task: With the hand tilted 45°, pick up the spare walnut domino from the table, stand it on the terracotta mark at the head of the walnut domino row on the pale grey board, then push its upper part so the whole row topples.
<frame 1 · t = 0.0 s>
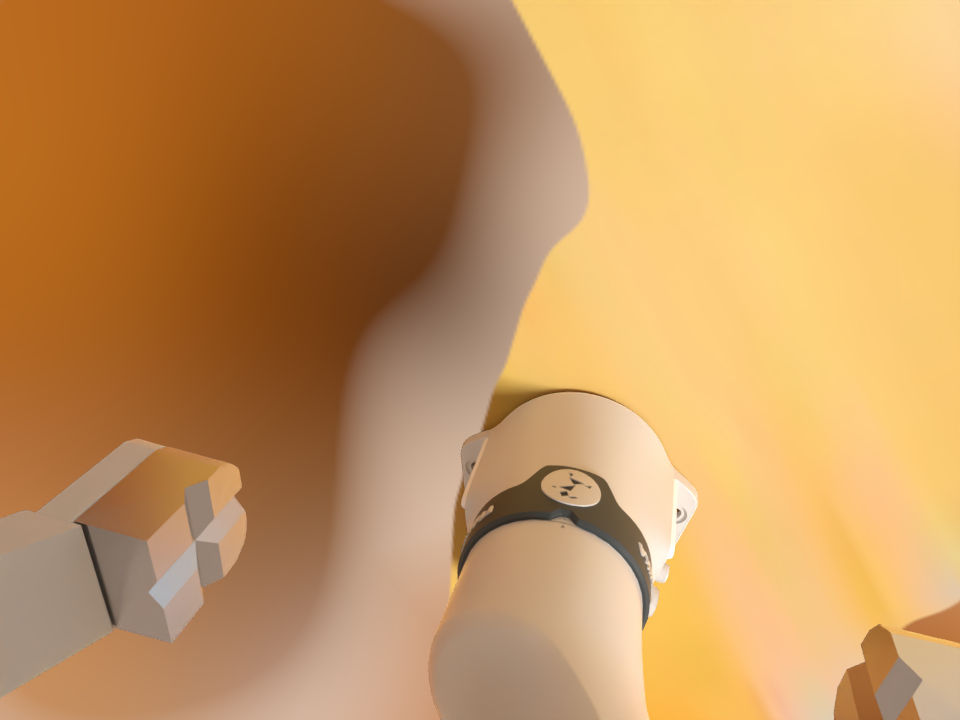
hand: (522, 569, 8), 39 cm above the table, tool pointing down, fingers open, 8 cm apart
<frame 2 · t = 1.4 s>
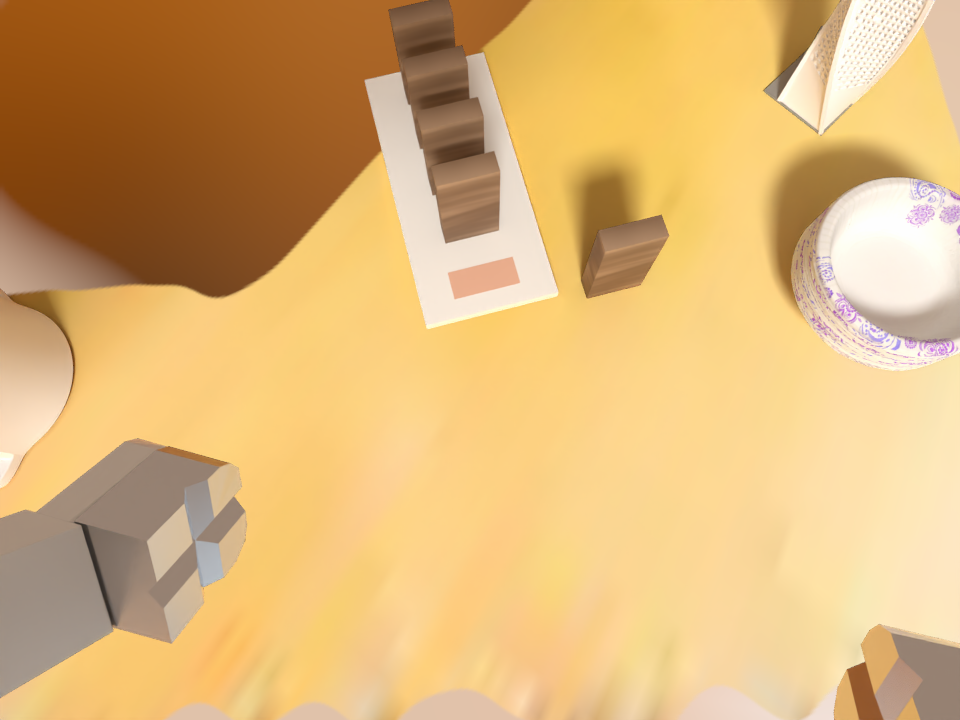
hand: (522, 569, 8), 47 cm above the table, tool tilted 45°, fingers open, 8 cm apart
skyscraper: (814, 102, 64), on the table
domino 5: (431, 91, 64), point 1 cm above the table, touching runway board
domino 2: (469, 228, 60), point 1 cm above the table, touching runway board
paper bowls: (859, 297, 59), on the table
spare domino: (610, 282, 59), on the table
domino 4: (443, 135, 62), point 1 cm above the table, touching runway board
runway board: (457, 186, 62), on the table
domino 3: (456, 180, 61), point 1 cm above the table, touching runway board
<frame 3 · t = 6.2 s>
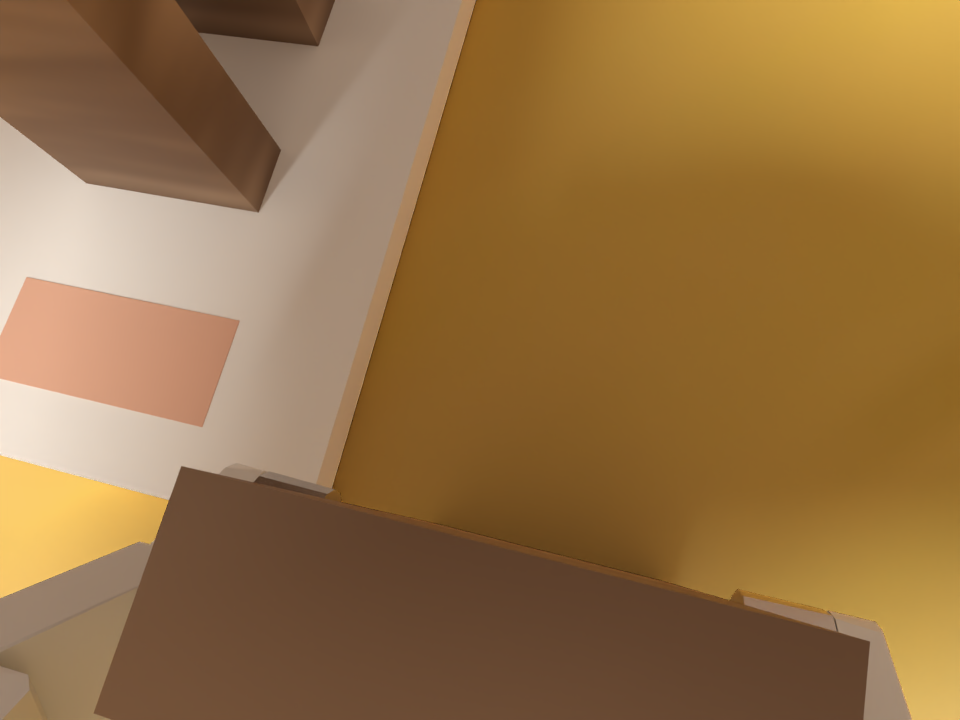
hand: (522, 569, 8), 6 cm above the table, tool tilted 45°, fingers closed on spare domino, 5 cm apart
domino 2: (182, 166, 17), point 1 cm above the table, touching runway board
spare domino: (534, 593, 14), on the table, touching gripper
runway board: (261, 37, 19), on the table
domino 3: (245, 10, 18), point 1 cm above the table, touching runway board
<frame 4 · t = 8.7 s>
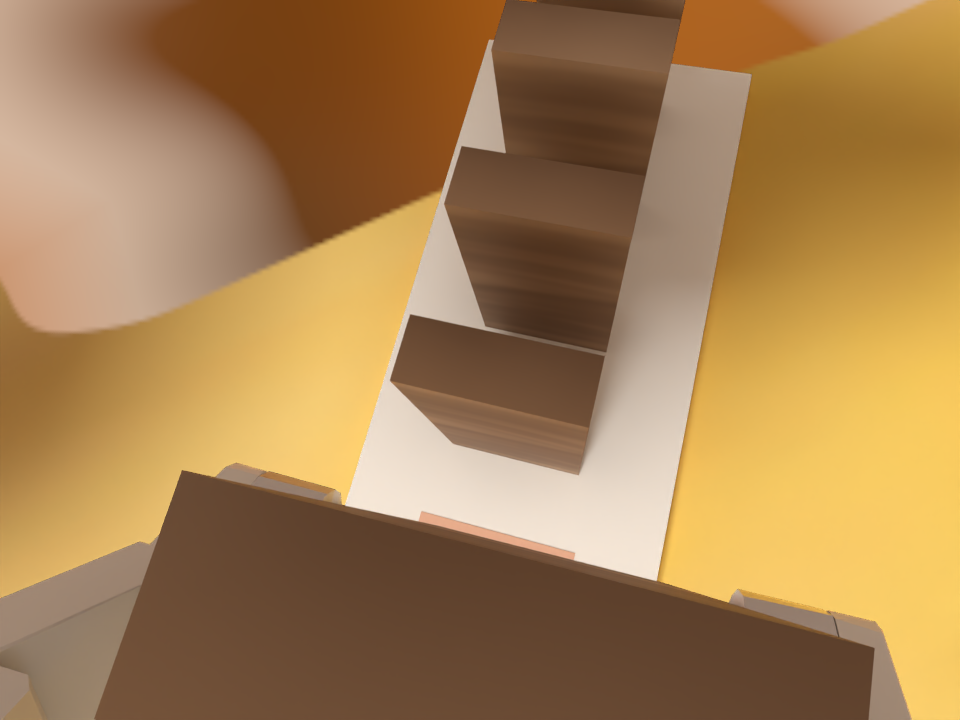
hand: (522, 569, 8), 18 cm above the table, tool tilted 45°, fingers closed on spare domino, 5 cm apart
domino 5: (601, 111, 29), point 1 cm above the table, touching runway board
domino 2: (520, 437, 26), point 1 cm above the table, touching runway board
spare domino: (535, 595, 14), point 12 cm above the table, touching gripper
domino 4: (577, 210, 28), point 1 cm above the table, touching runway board
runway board: (550, 326, 28), on the table
domino 3: (549, 318, 27), point 1 cm above the table, touching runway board
when the fingers open (8 cm above the table, at t = 11.7 s): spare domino stays where it is, resting on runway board.
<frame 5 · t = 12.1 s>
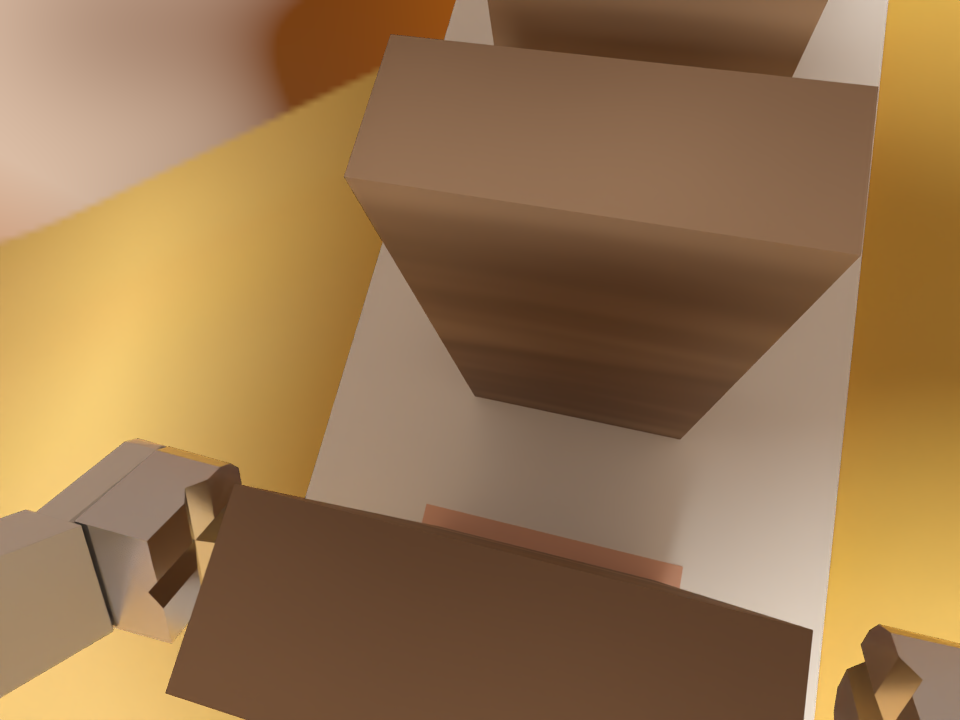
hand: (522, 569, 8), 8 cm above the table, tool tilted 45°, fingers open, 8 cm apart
domino 2: (581, 381, 16), point 1 cm above the table, touching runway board
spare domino: (534, 592, 15), point 1 cm above the table, touching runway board
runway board: (616, 219, 18), on the table
domino 3: (619, 201, 17), point 1 cm above the table, touching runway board
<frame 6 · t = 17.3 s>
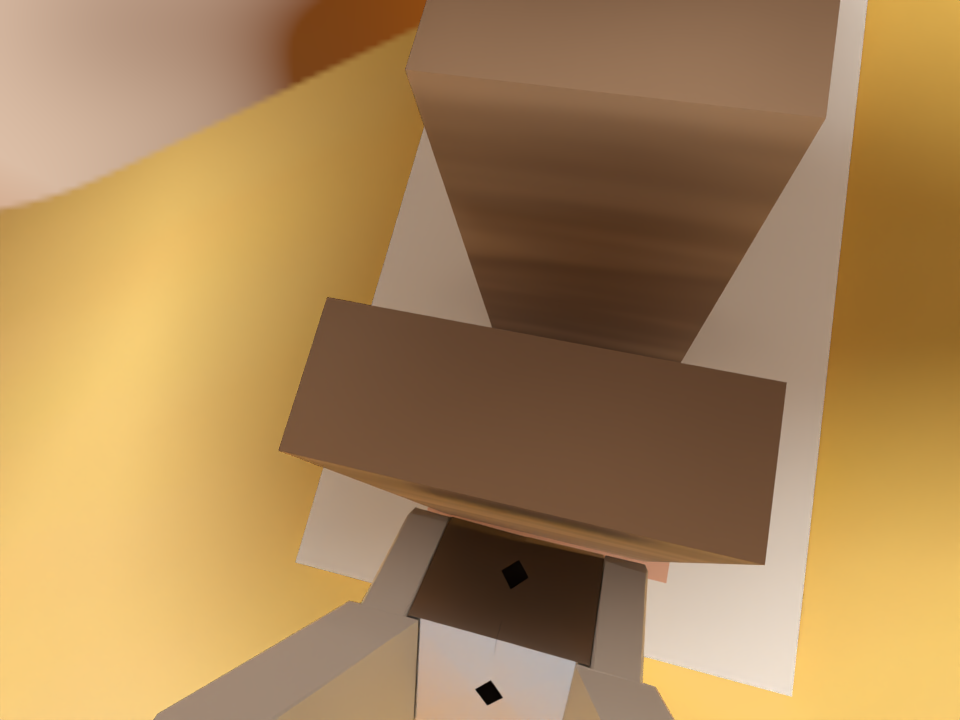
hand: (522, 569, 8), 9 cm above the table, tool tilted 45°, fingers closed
domino 2: (590, 313, 18), point 1 cm above the table, touching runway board
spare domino: (548, 499, 16), point 1 cm above the table, touching gripper, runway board
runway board: (621, 170, 20), on the table
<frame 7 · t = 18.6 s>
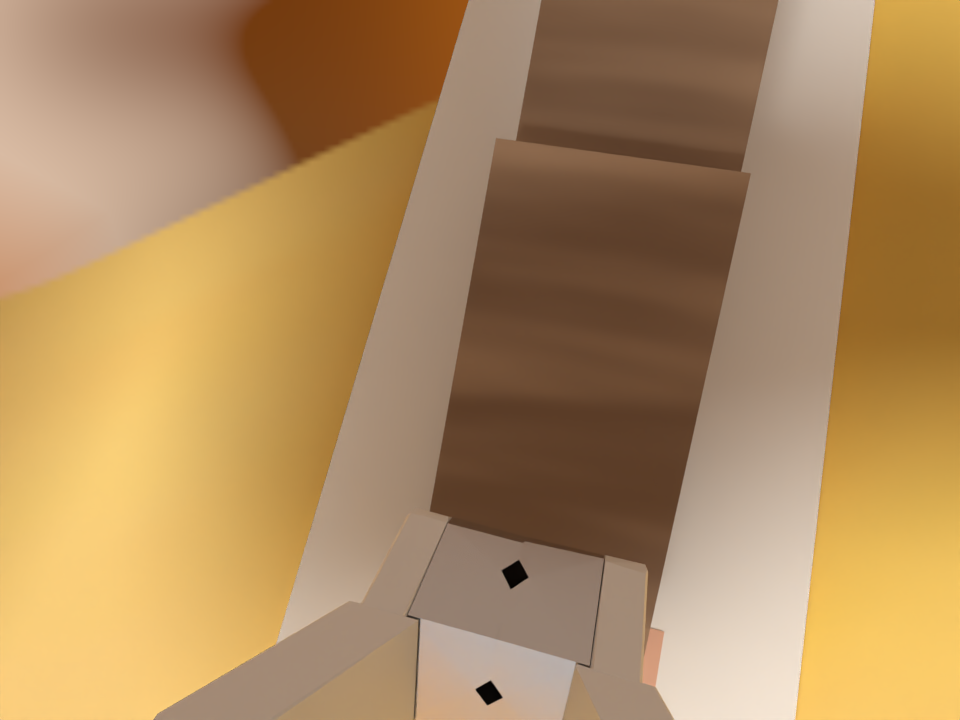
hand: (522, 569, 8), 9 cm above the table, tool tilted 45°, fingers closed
domino 2: (577, 399, 16), point 2 cm above the table, tilted 69°, touching domino 3, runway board, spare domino
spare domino: (530, 610, 15), point 2 cm above the table, tilted 69°, touching domino 2, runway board
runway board: (604, 283, 19), on the table
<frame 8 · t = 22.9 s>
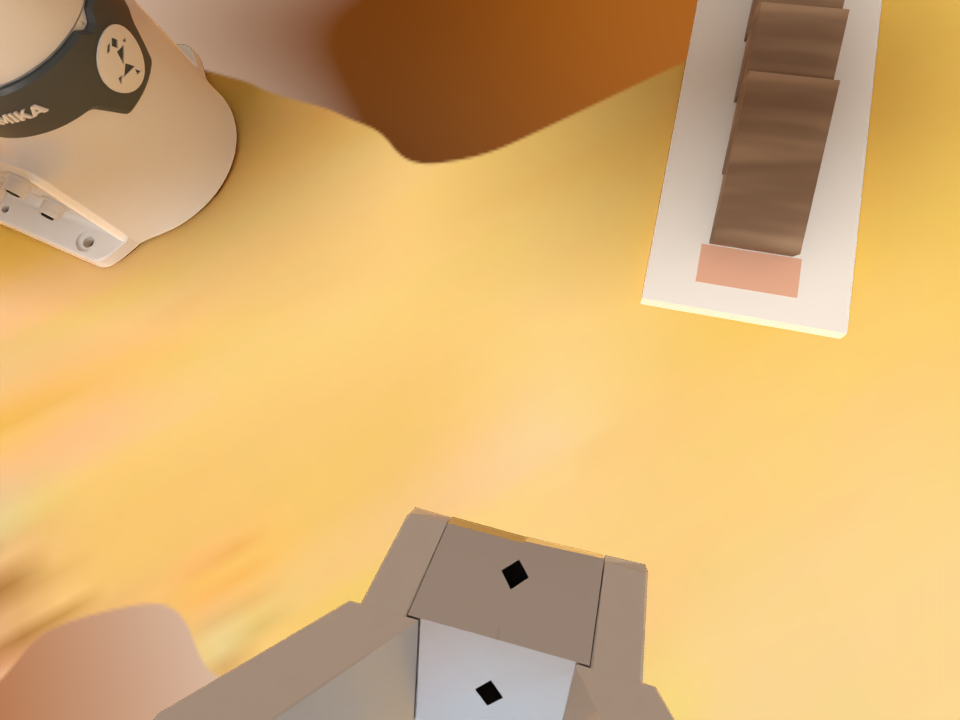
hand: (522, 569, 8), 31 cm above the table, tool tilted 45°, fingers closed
domino 2: (764, 176, 41), point 2 cm above the table, tilted 69°, touching domino 3, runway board, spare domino
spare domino: (753, 248, 40), point 2 cm above the table, tilted 69°, touching domino 2, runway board
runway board: (764, 140, 44), on the table
domino 3: (775, 103, 43), point 2 cm above the table, tilted 68°, touching domino 2, domino 4, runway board
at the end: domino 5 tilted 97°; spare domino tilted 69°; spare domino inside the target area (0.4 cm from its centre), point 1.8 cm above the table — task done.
